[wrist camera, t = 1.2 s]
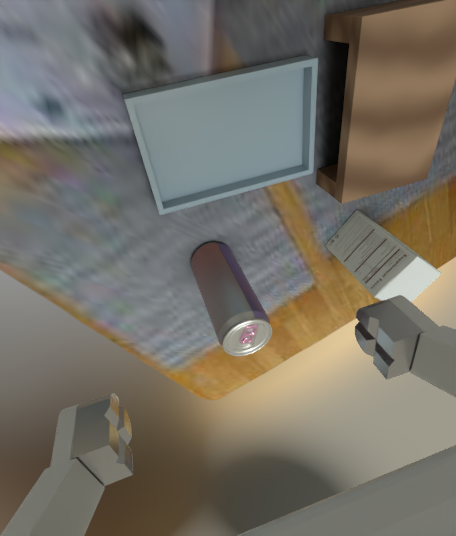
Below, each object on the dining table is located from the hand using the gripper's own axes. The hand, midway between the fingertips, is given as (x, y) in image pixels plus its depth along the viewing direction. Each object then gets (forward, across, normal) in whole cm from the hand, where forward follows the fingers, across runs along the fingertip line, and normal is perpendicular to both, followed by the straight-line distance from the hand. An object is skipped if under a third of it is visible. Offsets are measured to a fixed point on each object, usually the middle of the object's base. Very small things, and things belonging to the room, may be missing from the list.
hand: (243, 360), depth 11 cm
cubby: (+31, -25, +1) cm, 40 cm away
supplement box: (+33, -26, +21) cm, 47 cm away
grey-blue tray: (+30, -8, +1) cm, 31 cm away
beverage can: (+32, -3, +17) cm, 36 cm away
